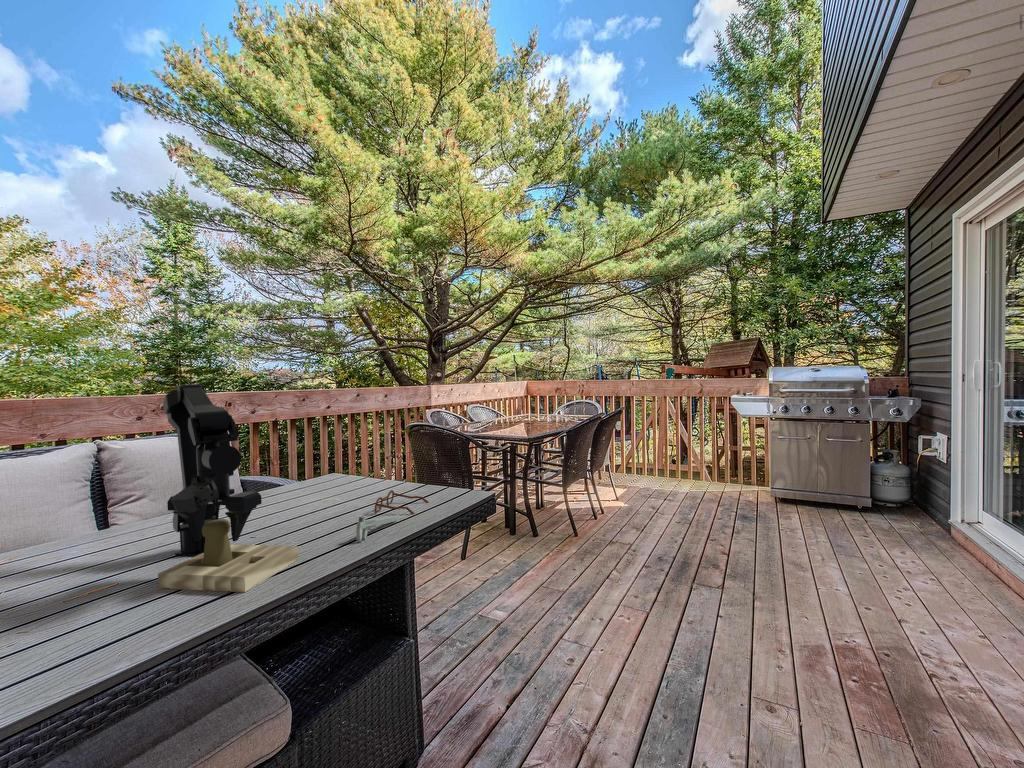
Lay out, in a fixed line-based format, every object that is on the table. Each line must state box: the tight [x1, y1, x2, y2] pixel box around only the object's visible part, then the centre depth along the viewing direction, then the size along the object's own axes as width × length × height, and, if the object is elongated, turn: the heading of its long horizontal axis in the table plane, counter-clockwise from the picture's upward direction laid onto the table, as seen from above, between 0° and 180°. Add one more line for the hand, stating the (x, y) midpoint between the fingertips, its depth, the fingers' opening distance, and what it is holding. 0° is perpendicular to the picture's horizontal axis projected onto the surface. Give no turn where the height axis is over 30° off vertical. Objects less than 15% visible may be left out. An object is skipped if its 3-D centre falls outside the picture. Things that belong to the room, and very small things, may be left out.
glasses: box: [374, 489, 430, 515], centre depth 143 cm, size 13×13×5 cm
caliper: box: [355, 514, 403, 543], centre depth 123 cm, size 20×1×6 cm, turn 164°
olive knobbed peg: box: [202, 518, 233, 567], centre depth 99 cm, size 6×6×11 cm
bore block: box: [157, 544, 299, 593], centre depth 98 cm, size 20×16×3 cm
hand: (216, 540), depth 99 cm, fingers open, 9 cm apart
